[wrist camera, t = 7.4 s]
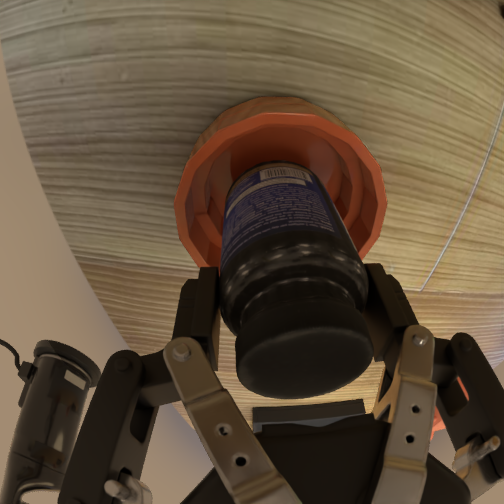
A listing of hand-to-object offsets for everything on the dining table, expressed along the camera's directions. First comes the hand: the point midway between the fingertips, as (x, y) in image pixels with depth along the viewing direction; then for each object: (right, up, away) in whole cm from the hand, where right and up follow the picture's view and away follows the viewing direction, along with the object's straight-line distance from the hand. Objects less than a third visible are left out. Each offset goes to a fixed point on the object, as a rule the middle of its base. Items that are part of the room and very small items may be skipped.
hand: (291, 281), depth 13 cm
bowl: (0, +6, +7) cm, 10 cm away
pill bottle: (0, +4, +5) cm, 7 cm away
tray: (+7, -27, +33) cm, 43 cm away
